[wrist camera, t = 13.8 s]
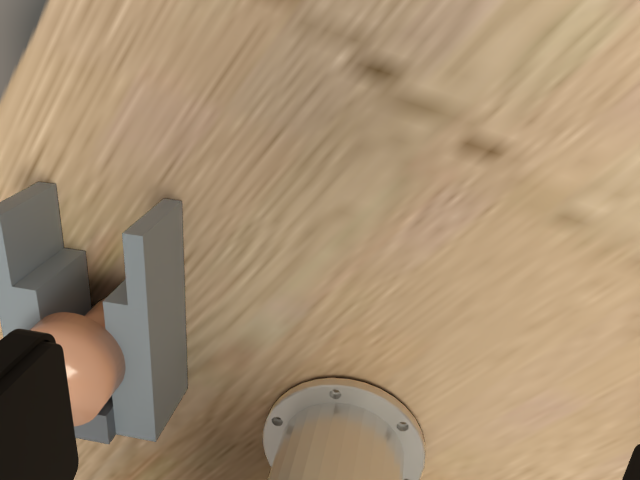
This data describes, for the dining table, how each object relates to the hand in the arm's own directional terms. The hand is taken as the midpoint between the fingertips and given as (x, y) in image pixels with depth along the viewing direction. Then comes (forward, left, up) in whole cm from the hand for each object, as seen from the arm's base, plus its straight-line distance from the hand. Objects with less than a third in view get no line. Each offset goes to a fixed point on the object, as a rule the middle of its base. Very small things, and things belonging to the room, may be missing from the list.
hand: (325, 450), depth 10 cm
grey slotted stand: (-13, +22, -28) cm, 38 cm away
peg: (-14, +22, -27) cm, 38 cm away
